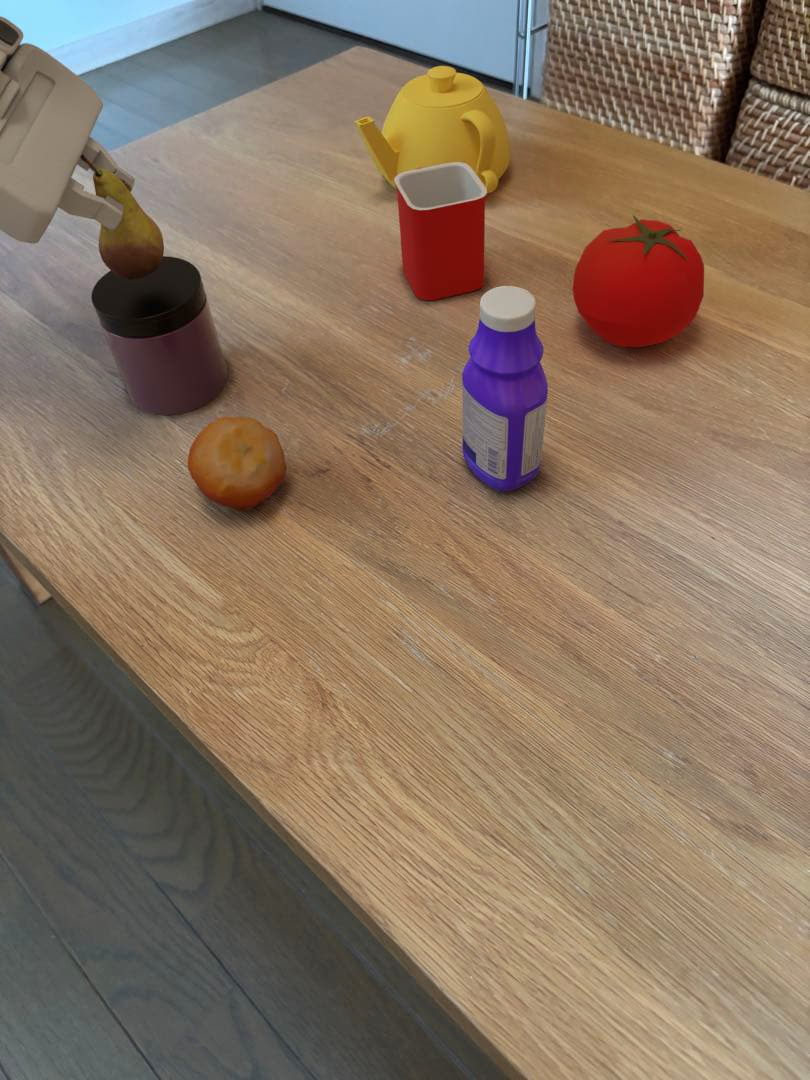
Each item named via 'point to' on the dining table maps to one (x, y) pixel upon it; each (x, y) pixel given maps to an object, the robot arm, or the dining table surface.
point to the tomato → (639, 283)
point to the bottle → (504, 391)
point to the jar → (172, 366)
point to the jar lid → (150, 299)
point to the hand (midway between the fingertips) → (125, 204)
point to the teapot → (440, 128)
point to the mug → (442, 229)
